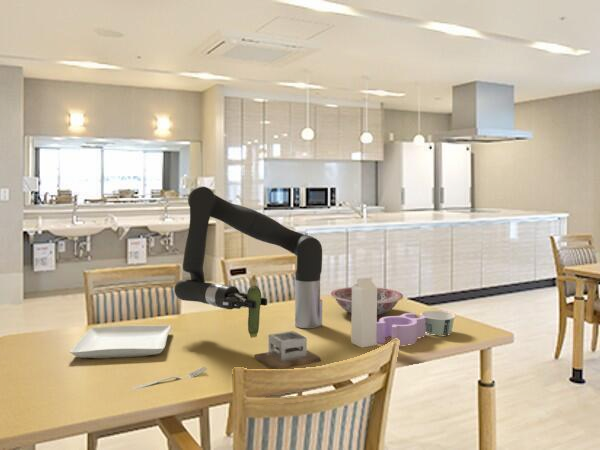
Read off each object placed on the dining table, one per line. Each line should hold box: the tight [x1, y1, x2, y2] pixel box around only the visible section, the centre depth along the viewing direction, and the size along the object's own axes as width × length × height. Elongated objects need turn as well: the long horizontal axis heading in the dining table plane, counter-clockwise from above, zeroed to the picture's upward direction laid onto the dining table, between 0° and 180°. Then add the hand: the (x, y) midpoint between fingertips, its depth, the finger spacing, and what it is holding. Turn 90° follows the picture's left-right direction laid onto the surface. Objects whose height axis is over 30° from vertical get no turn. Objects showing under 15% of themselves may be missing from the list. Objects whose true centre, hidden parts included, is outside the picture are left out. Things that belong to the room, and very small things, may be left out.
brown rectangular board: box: [254, 346, 322, 370], centre depth 156 cm, size 16×12×1 cm
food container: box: [420, 310, 457, 335], centre depth 184 cm, size 12×12×6 cm
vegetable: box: [246, 274, 262, 339], centre depth 162 cm, size 4×4×20 cm
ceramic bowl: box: [330, 286, 404, 316], centre depth 211 cm, size 29×29×8 cm
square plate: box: [69, 324, 173, 359], centre depth 168 cm, size 27×27×4 cm
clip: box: [376, 312, 426, 345], centre depth 177 cm, size 20×12×7 cm, turn 134°
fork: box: [129, 366, 208, 390], centre depth 138 cm, size 3×24×2 cm, turn 125°
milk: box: [350, 276, 378, 348], centre depth 170 cm, size 6×6×22 cm
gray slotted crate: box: [268, 330, 308, 363], centre depth 156 cm, size 8×8×6 cm
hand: (260, 303), depth 160 cm, fingers closed on vegetable, 4 cm apart
